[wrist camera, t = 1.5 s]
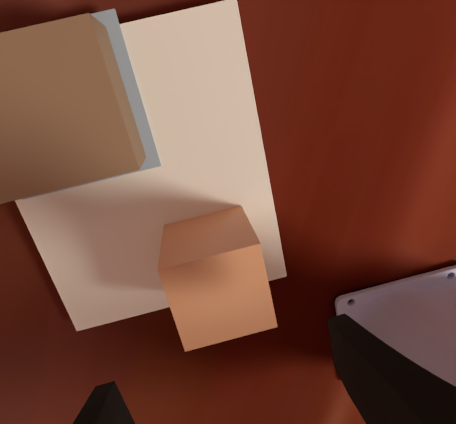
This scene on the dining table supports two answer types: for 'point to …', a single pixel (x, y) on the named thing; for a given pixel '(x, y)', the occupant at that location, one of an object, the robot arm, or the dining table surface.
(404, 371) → the robot arm
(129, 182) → the board
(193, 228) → the terracotta block
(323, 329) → the dining table surface
